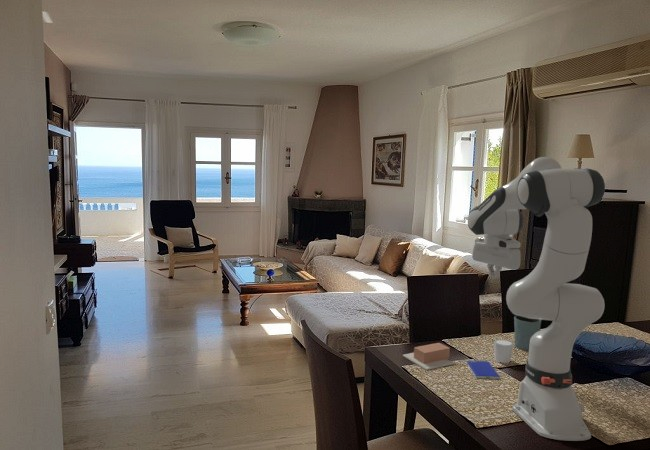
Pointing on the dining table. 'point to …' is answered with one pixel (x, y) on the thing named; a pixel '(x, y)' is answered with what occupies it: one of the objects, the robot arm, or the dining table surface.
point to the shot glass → (503, 350)
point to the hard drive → (483, 369)
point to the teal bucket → (525, 331)
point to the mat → (428, 365)
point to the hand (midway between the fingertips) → (493, 276)
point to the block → (431, 352)
